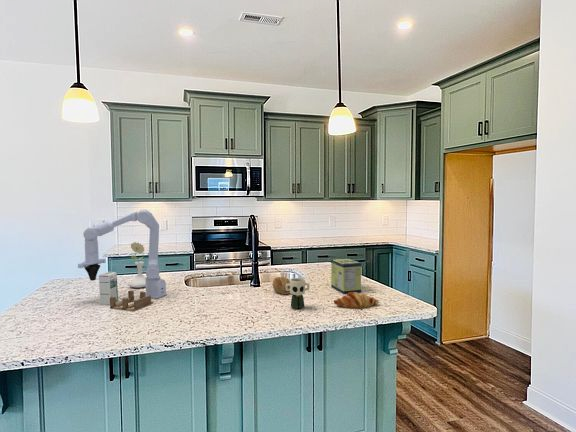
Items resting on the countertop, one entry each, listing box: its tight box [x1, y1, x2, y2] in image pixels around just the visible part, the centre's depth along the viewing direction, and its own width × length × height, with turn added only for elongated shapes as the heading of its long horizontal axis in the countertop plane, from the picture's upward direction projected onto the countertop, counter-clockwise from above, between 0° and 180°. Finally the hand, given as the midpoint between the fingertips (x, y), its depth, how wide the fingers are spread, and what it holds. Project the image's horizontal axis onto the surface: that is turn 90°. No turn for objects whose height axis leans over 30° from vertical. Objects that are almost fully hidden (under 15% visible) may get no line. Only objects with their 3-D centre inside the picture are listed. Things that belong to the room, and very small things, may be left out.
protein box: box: [330, 258, 362, 295], centre depth 201 cm, size 10×16×16 cm
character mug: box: [286, 277, 310, 310], centre depth 170 cm, size 11×7×13 cm, turn 97°
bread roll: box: [271, 276, 291, 295], centre depth 197 cm, size 10×15×8 cm, turn 19°
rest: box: [109, 289, 154, 312], centre depth 175 cm, size 13×13×5 cm
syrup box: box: [98, 271, 119, 306], centre depth 179 cm, size 6×6×14 cm
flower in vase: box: [128, 241, 147, 289], centre depth 209 cm, size 13×11×25 cm
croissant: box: [333, 292, 380, 309], centre depth 173 cm, size 21×10×8 cm, turn 98°
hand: (92, 280), depth 182 cm, fingers closed
